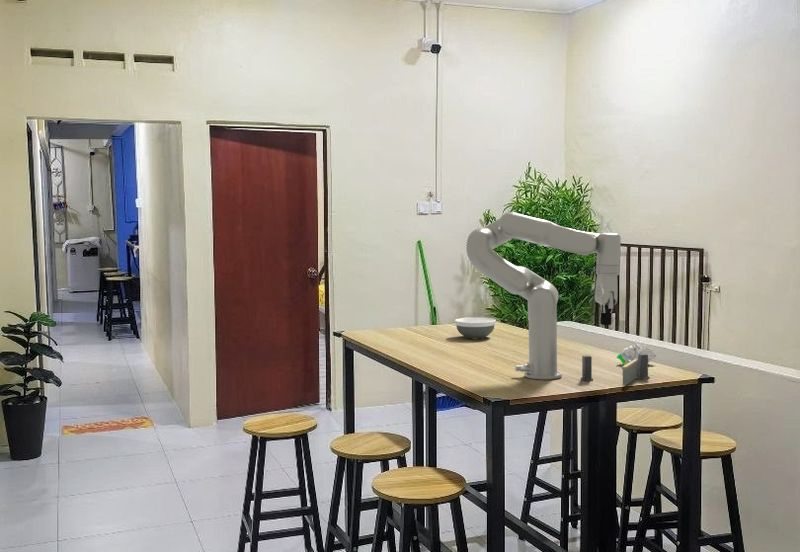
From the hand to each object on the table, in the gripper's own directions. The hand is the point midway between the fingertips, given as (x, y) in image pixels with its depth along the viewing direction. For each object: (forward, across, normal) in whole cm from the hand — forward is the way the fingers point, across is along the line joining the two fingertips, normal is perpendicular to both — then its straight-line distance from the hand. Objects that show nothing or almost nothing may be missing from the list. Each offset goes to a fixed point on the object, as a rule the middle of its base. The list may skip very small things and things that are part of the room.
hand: (605, 324), depth 266 cm
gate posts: (+18, +1, +4) cm, 19 cm away
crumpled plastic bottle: (+18, -22, +18) cm, 34 cm away
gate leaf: (+18, +6, +7) cm, 20 cm away
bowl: (+21, -97, -29) cm, 103 cm away
